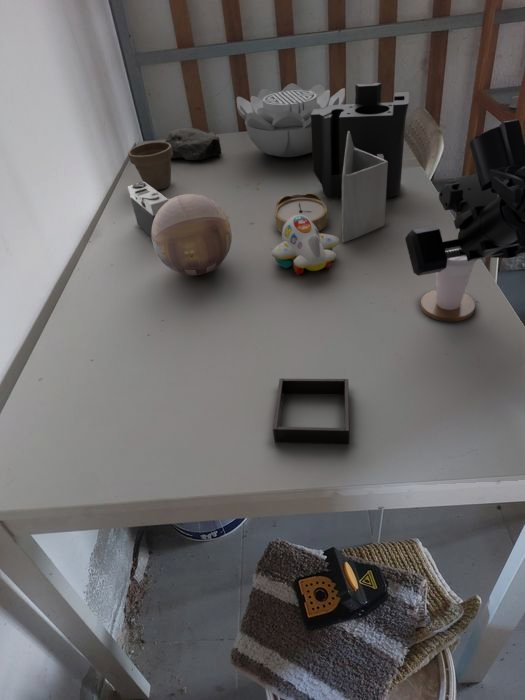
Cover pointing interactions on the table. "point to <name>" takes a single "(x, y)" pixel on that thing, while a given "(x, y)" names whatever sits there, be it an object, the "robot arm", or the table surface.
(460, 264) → the smoothie
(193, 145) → the stone
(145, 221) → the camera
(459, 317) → the coaster
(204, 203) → the ornament
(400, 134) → the black machined bracket
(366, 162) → the grey angular upright piece
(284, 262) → the toy airplane
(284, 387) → the black square tray
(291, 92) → the decorative bowl
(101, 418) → the table surface
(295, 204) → the alarm clock
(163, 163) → the flower pot
